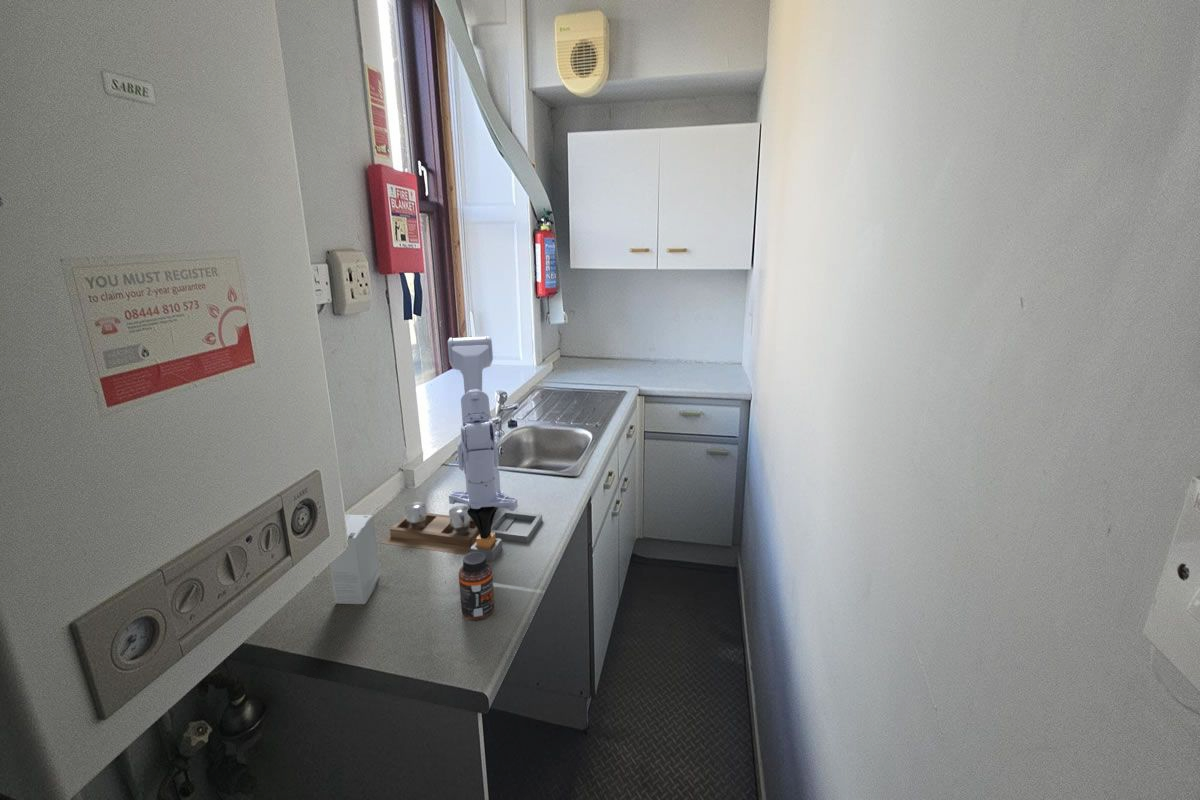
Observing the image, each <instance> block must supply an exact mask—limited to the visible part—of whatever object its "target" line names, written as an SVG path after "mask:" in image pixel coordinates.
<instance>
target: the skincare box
mask: <svg viewBox="0 0 1200 800" xmlns="http://www.w3.org/2000/svg"><path fill="white" fill-rule="evenodd" d="M344 515H345V521H346V527H347V535H348V547H347V548H346V550H345V551H344V552H343V553H342V554H341V555H340V556H339V557H338V558H337V559H336V560H335V561H333V562H332V563H331V564H330V565H329V564H328V565H329V573H330V579H331V584H332V590H333V591H332V592H333V597H334V603H335V604H338V605H340V604H342V605H365V604H366V603H367V602H368V600H369V598H370V597H371V595H372V593H373V592H374V590H375V589H376V587H377V585H378V583H377V582H378V580H379V579H380V577H381V567H380V559H379V552H378V543H377V535H376V530H375V529H376V528H375V522H374V521H375V520H374V515H371V514H344Z"/></svg>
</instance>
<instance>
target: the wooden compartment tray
mask: <svg viewBox="0 0 1200 800" xmlns="http://www.w3.org/2000/svg"><path fill="white" fill-rule="evenodd" d="M426 516H427V526H426V527H425V528H424V529H423V530H414V529H408V528H407V520H406V514H405V515H404V516H403V517H401V519H399V521H397V522H396V523H394V524H393V525H392V526H391V527H390V528H389V535H388V536H386V537H385V538H384V539H383V540H381V542H380V544H385V545H392V546H399V547H407V548H414V549H421V550H427V551H434V552H435V551H436V552H441V553H442V552H443V553H444V552H445V553H449V554H450V553H451V554H456V555H457V554H458V555H464V556H465V555H467V554H469V553H471V552H470V548H471V547H472V546H473V545H474V543H475V542H476V538H477V537H478V536H479V531H478V529H477V527H476V525H475V523H474V521H473V520H472V518H471V517H470V523H471V533H470V534H469V535H468V536H460V535H452V534H451V527H450V516H449V514H448V515H446V514H438V513H429V512H426ZM493 522H494V521H493ZM493 522H492V523H493Z"/></svg>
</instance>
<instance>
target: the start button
mask: <svg viewBox="0 0 1200 800" xmlns="http://www.w3.org/2000/svg"><path fill="white" fill-rule="evenodd" d="M495 538H496V537H495V533H492V532H491V533H490V535H489V536H488V538H481V537H480V534H479V536H478V537H477V538H476V544H477V547H478V548H485V549H491V548H492V547H493V545H494V544H495V543H496V539H495Z"/></svg>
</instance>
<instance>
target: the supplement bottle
mask: <svg viewBox="0 0 1200 800" xmlns="http://www.w3.org/2000/svg"><path fill="white" fill-rule="evenodd" d="M493 576H494V575H493V568H492V566H491V565H490V564H489V562H488V561H486V556H485V554H483V553H481V552H472V553H471V552H470V553H469V554H467V555H464V556H463V558H462V566H461V567H460V568H459V570H458V584H459V596H460V606H461V607H460V608H461V613H462V616H463V617H464V618H465V619H466V620H470V621H480V620H483V619H486V618H488V617H489V616H490V615H492V613H493V612H494V610H495V597H494V595H495V594H494V582H493V581H494V580H493Z"/></svg>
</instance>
